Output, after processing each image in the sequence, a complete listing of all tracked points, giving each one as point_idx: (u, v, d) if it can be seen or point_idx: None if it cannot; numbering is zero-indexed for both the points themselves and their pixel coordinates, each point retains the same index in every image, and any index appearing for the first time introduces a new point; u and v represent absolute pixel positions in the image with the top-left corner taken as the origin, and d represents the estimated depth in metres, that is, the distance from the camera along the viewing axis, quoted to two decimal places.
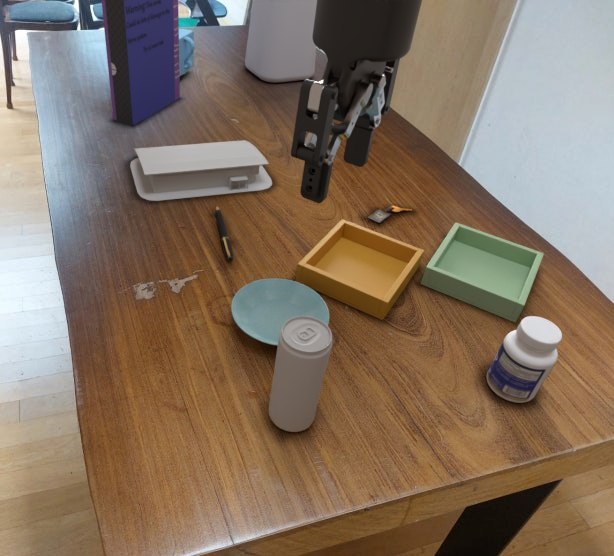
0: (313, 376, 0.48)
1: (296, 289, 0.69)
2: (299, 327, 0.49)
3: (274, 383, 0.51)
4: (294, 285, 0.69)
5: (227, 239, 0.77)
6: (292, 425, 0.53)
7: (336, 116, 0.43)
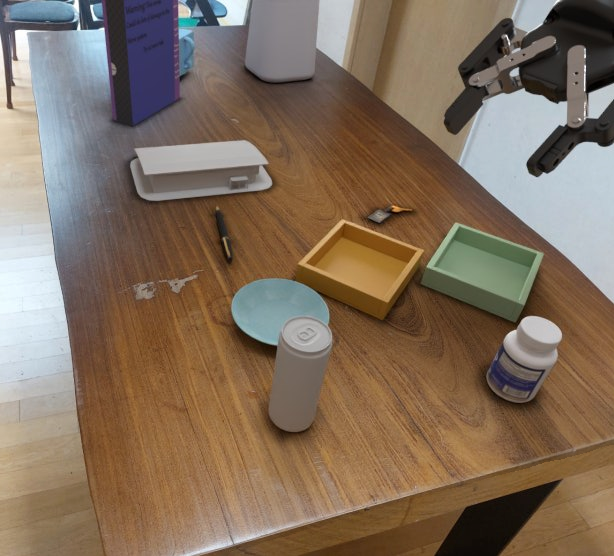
0: (313, 376, 0.48)
1: (296, 289, 0.69)
2: (299, 327, 0.49)
3: (274, 383, 0.51)
4: (294, 285, 0.69)
5: (227, 239, 0.77)
6: (292, 425, 0.53)
7: None
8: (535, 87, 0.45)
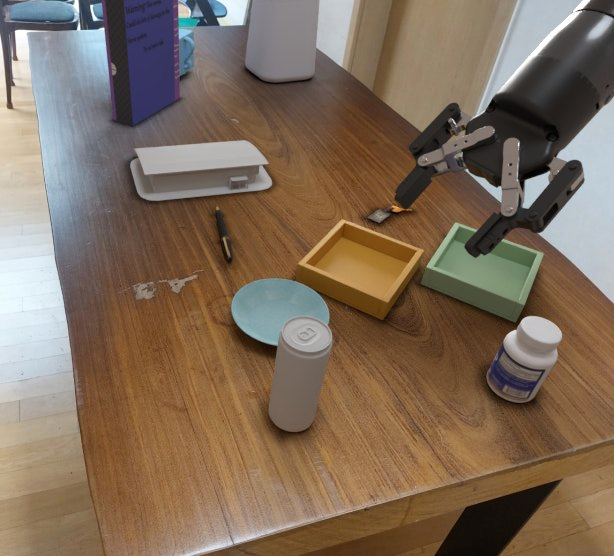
0: (313, 376, 0.48)
1: (296, 289, 0.69)
2: (299, 327, 0.49)
3: (274, 383, 0.51)
4: (294, 285, 0.69)
5: (227, 239, 0.77)
6: (292, 425, 0.53)
7: None
8: (477, 171, 0.48)
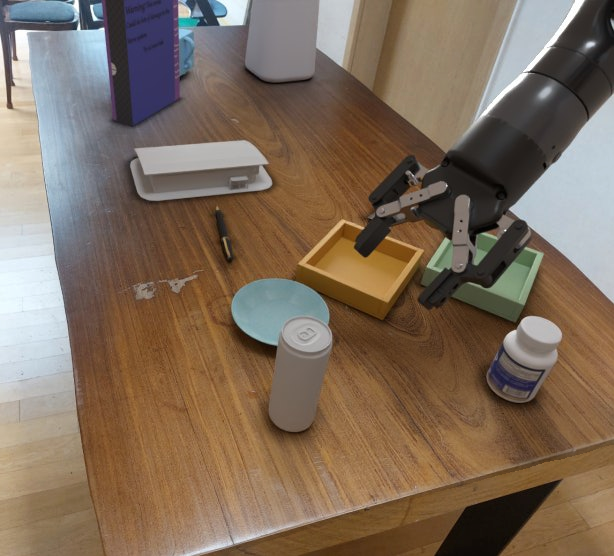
0: (313, 376, 0.48)
1: (296, 289, 0.69)
2: (299, 327, 0.49)
3: (274, 383, 0.51)
4: (294, 285, 0.69)
5: (227, 239, 0.77)
6: (292, 425, 0.53)
7: None
8: (431, 224, 0.50)
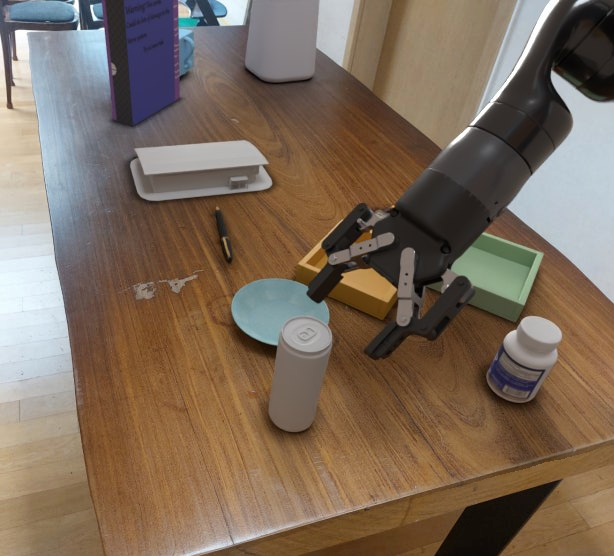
0: (313, 376, 0.48)
1: (296, 289, 0.69)
2: (299, 327, 0.49)
3: (274, 383, 0.51)
4: (294, 285, 0.69)
5: (227, 239, 0.77)
6: (292, 425, 0.53)
7: None
8: (381, 274, 0.50)
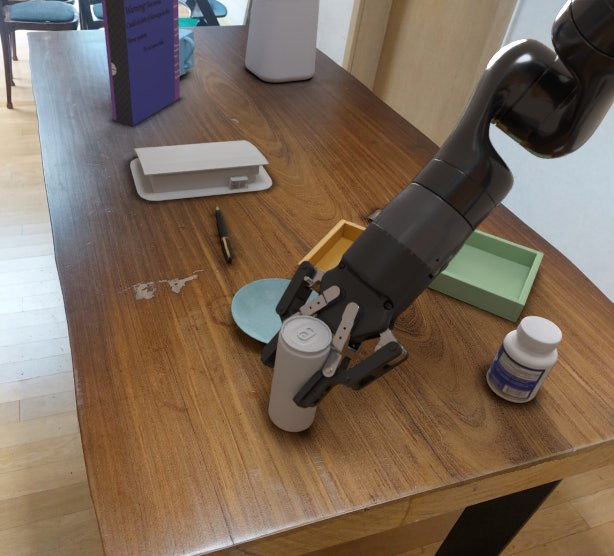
0: None
1: None
2: (299, 327, 0.49)
3: (274, 383, 0.51)
4: None
5: (227, 239, 0.77)
6: (292, 425, 0.53)
7: None
8: (328, 325, 0.50)
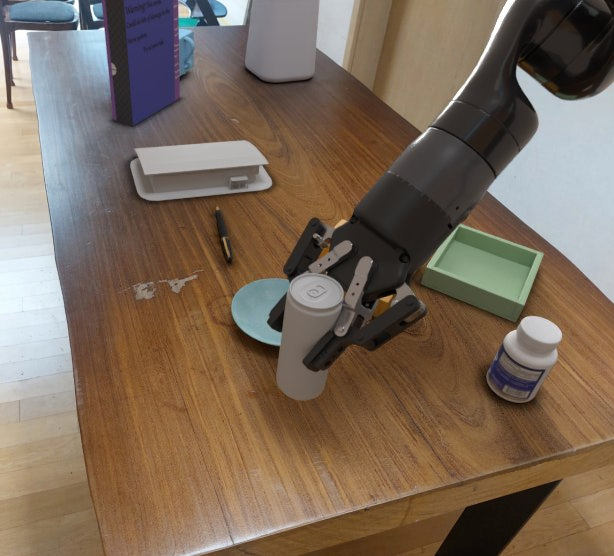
0: None
1: None
2: (308, 285, 0.46)
3: (282, 347, 0.48)
4: None
5: (227, 239, 0.77)
6: (301, 393, 0.50)
7: None
8: None
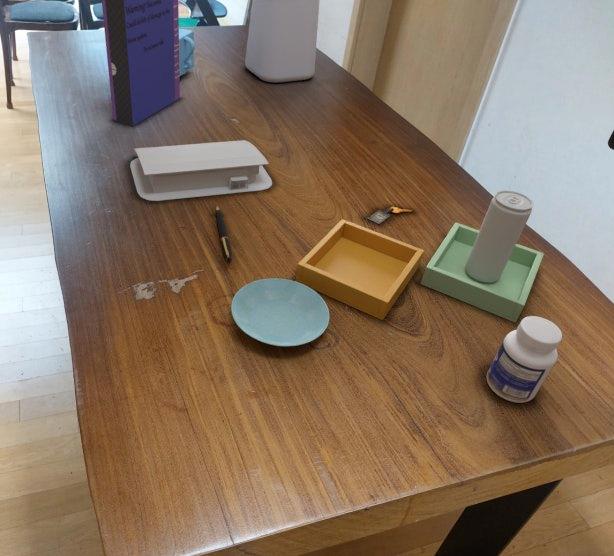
0: (517, 231, 0.68)
1: (296, 289, 0.69)
2: (507, 197, 0.68)
3: (480, 242, 0.71)
4: (294, 285, 0.69)
5: (226, 239, 0.77)
6: (489, 276, 0.72)
7: None
8: None
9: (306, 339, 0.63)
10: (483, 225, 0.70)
